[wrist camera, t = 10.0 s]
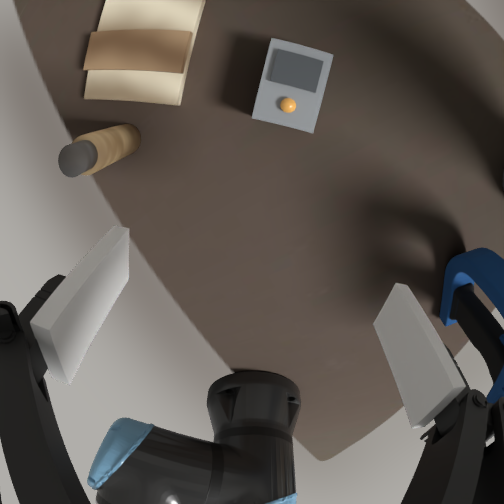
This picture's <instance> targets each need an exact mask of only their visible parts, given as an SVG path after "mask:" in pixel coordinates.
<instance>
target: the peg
mask: <svg viewBox="0 0 504 504" xmlns="http://www.w3.org/2000/svg"><path fill="white" fill-rule="evenodd" d="M140 143H141V135H140V132H139V130H138V129H137V128H136V127H135V126H134V125H131V124H123V125H118V126H114V127H110V128H106V129H102V130H98V131H95V132H91V133H87V134H84V135H81V136H79V137H77V138H76V139H75V140H74V141H73V142H72V144H69V145H67V146H65V147H64V148H63V149H62V150H61V152H60V154H59V160H58V162H59V167H60V169H61V171H62V172H63V174H64V175H66V176H68V177H76V176H78V175H80V174H82V175H91V174H93V173H95V172H97V171H98V170H100V169H102V168H104V167H106V166H108V165H110V164H112V163H114V162H116V161H118V160H120V159H122V158H124V157H126V156H128V155H130V154H132V153H134V152H135V151H136V150H137V149H138V148H139V146H140Z"/></svg>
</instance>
